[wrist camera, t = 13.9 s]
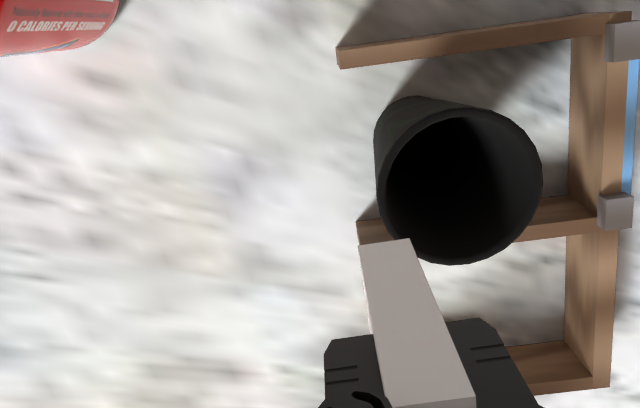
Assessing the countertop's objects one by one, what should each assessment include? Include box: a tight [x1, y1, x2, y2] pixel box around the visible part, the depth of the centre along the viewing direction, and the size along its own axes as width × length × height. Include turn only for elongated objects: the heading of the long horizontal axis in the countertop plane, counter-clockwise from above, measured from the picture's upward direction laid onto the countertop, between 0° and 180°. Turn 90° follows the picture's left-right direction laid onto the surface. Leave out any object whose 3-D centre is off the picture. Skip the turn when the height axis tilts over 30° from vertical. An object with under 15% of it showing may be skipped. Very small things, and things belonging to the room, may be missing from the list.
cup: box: [373, 96, 543, 266], centre depth 30 cm, size 8×8×12 cm
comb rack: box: [336, 11, 640, 396], centre depth 35 cm, size 25×17×6 cm
